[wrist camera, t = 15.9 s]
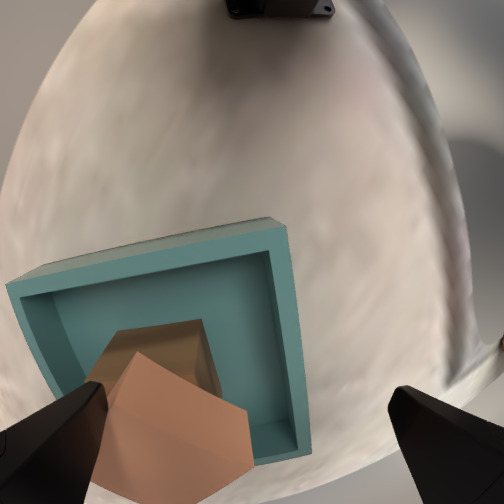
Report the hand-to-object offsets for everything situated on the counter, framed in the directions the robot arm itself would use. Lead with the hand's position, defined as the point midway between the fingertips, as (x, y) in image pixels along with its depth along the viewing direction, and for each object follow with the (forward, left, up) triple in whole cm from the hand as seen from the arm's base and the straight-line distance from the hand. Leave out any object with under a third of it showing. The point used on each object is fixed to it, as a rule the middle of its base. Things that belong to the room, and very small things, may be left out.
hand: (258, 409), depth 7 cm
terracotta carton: (+3, -5, -3) cm, 6 cm away
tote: (+3, -5, -9) cm, 10 cm away
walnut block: (+3, -5, -8) cm, 9 cm away
